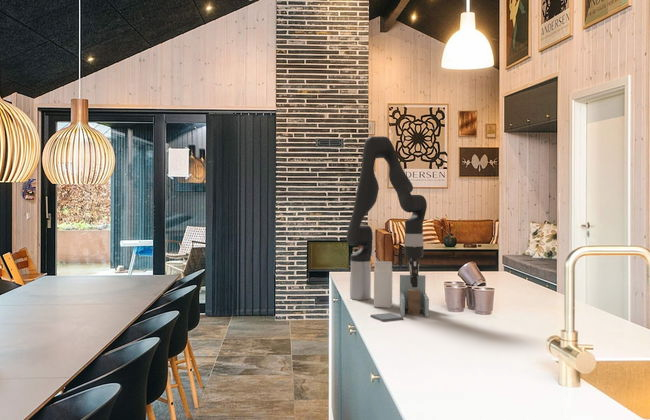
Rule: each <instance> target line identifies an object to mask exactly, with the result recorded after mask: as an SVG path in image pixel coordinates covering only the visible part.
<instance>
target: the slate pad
mask: <svg viewBox="0 0 650 420" xmlns="http://www.w3.org/2000/svg"><path fill="white" fill-rule="evenodd" d="M370 318H373V319H374V320H378V321H380V322H389V321H390V322H391V321H401V320H404V317H401V315H398V314H394V313H392V312H384V313H375V314H370Z"/></svg>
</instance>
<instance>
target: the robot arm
mask: <svg viewBox="0 0 650 420" xmlns="http://www.w3.org/2000/svg"><path fill="white" fill-rule="evenodd" d="M364 141H365V142H364V145H363V148H362V159H361V167H360V174H359V179H358V185H357V189H356V192H355V193H356V194H355V199H354V200H355V201H354V205H353V206H354V207H353V210H352V214H351V217H350V221H349V224H348V227H347V232H346V241H347V244H348V245H349V246H350V247H351V246H354V247H355V246H359V249H358V250H356V251H355V252H353V253H351V254H350V276H349V298H350V299H352V300H358V301H364V300H370V299H371V297H372V296H371V294H372V293H371V292H372V287H371V285H372V281H371V280H372V278H371V277H372V276H371V275H372V273H371V272H372V266H371V265H372V253H373V238H374V237H373V230H372V229H373V228H372V227H371V226H369V225H366V224H365V225H363V224H362V222H363V220H364V219H365V216H366V215H367V214H368V213H369V211H371V209H373V207H374V206H375V204H376V202H377V199H378V194H379V190H380V187H379V182H378V178H377V177H376V174H375V163H376V159H384V160H385V162H386V164H388V178H389V182H390V183H391V186H392V187H393V189H394V190H395V192H396V194H397V198H398V202H399V205H400V207H401V209H402V210H403V211H405V212H406V213H411V216H410V217H409V218H407V219H406V220H405V221H404V244H403V245H404V246H403V247H404V250H403V252H404V253H403V255H404V257H405V258H409V260H408V270H409V275H410V283H411V284H412V287H417V286H418V276H419V275H420V274H419V273H420V268H419V267H420V261H418V258H423V257H424V232H423V231H424V228H423V226H424V225H423V224H424V221H425V216H426V212H427V208H428V205H427V204H428V203H427V200H426V198H425V196H424V195H421V194H412V192H413V190H414V185H413V183H412V182H411V180H410V179H409V177H408V176H407V174H406V172H405V170H404V168H403V167H402V164H401V162H400V160H399V156H398V154H397V152H396V150H395V147H394V145H393V143H392V141H391V139H390V138H389V137H387V136H382V135H381V136H368V137H367V138H366V139H365V140H364Z"/></svg>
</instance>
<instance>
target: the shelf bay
mask: <svg viewBox="0 0 650 420" xmlns="http://www.w3.org/2000/svg"><path fill="white" fill-rule="evenodd" d="M408 289H410V290H420V310H422V312H423V314H424V317H425V318H430V317H429V316H430V314H429V312H430V310H429V309H430V308H429V307H430V306H429V305H430V298H429V297H428V295H427V293H426V275H425V274H419V276H418V286H417V287H412V284H411V283H410V274H399V312H400V316H401V317H403V318H405V315H406V313H405V312H406V311H405V310H408Z"/></svg>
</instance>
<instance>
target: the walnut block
mask: <svg viewBox="0 0 650 420" xmlns="http://www.w3.org/2000/svg"><path fill="white" fill-rule="evenodd" d="M407 314H408V315H421V309H420V290H410V289H408V309H407Z"/></svg>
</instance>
